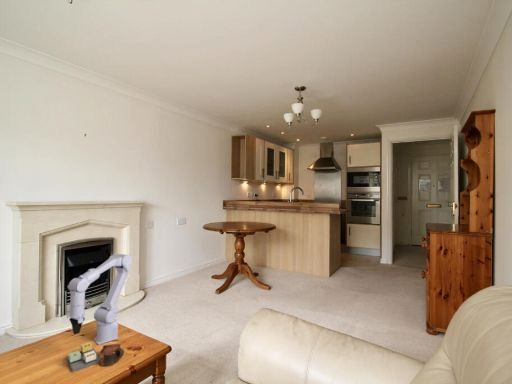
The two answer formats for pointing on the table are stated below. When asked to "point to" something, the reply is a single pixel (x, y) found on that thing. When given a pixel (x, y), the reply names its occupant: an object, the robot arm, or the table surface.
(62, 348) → the table surface
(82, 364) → the slate board
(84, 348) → the tile two mustard
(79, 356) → the tile one sage
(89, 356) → the tile three ivory
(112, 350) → the pottery mug
